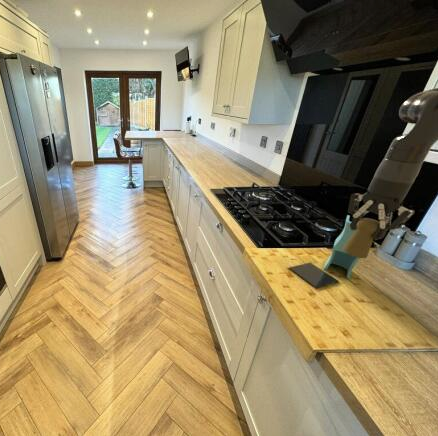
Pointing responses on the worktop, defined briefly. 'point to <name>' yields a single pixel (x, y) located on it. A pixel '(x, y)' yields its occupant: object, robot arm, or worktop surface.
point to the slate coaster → (313, 275)
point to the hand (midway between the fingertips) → (364, 233)
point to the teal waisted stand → (339, 254)
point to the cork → (362, 238)
